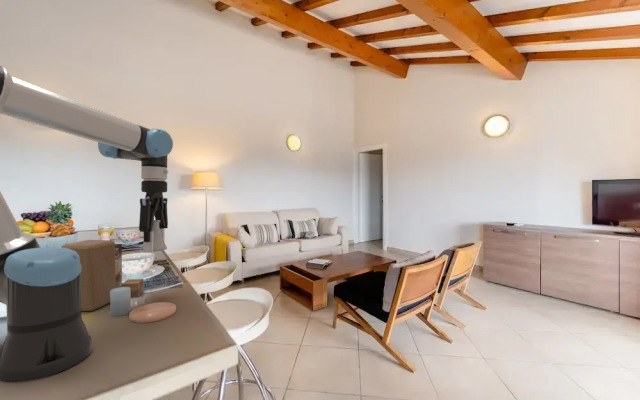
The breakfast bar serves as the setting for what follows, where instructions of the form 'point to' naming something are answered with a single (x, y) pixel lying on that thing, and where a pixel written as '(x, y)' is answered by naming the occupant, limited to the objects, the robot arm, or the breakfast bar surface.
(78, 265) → the robot arm
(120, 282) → the coffee box
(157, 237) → the flask
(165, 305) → the terracotta plate
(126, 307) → the blue-grey cylinder
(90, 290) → the block
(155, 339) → the breakfast bar surface
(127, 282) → the walnut cube
